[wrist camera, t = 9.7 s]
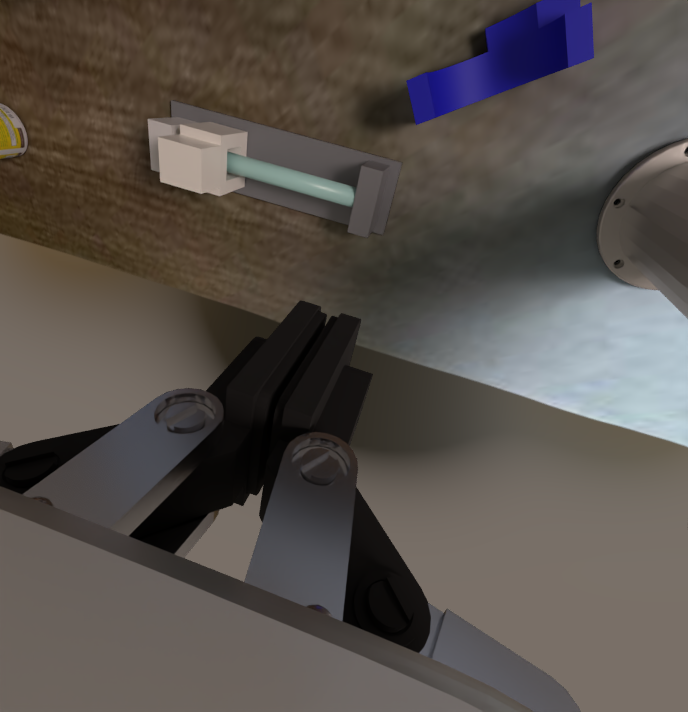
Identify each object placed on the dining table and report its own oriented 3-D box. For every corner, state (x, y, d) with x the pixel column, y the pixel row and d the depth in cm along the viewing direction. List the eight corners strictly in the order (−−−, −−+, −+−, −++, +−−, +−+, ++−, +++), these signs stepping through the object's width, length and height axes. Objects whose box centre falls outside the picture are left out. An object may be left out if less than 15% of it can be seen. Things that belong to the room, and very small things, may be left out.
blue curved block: (569, -7, 29) (590, -28, 25) (574, 64, 31) (593, 57, 27) (410, 63, 34) (401, 57, 29) (423, 121, 36) (416, 124, 31)
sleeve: (247, 131, 39) (201, 138, 33) (244, 186, 42) (201, 203, 36) (210, 121, 40) (157, 126, 33) (210, 176, 43) (160, 191, 36)
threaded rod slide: (402, 162, 38) (394, 170, 34) (383, 234, 42) (373, 249, 38) (173, 100, 40) (138, 100, 36) (175, 173, 44) (145, 181, 40)
